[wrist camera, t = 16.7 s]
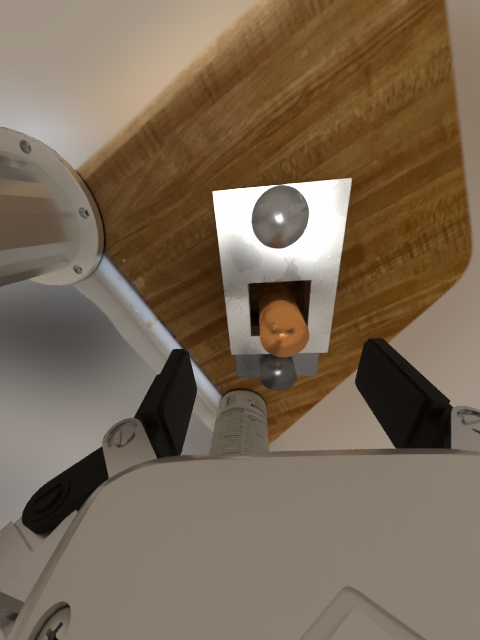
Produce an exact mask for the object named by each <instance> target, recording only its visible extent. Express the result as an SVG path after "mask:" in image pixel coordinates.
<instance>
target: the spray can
mask: <svg viewBox="0 0 480 640" xmlns="http://www.w3.org/2000/svg"><path fill="white" fill-rule="evenodd" d="M249 452H269V447H268V430H267V413H266V406H265V402H264V400H263V399H262V398H261V397H260V396H259V395H258V394H256V393H255V392H252V391H248V390H234V391H231V392H228V393H227V394H226V395H225V396H224V397H223V398H222V399H221V401H220V403H219V407H218V412H217V417H216V422H215V427H214V432H213V438H212V443H211V448H210V453H209V454H219V453H249Z"/></svg>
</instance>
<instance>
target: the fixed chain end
mask: <svg viewBox="0 0 480 640" xmlns="http://www.w3.org/2000/svg"><path fill="white" fill-rule="evenodd" d="M249 294H250V283H249ZM304 294H305V280H300V288H299V306H298V308H299V310H300V312H301V315H302V317H303V308H304ZM250 311H251V295H250ZM251 326H260V323H259V319H252V313H251ZM318 357H319V353H298V354H296V355H293V356H290V357H277V356H274V355H271V354H241V355H235V360H236V370H237V377H260V379H261V382H262V384H263V385H264V386H265V387H266V388H268V389H271V390H275V391H281V390H286V389H288V388H290V387H291V386H292V385H293V384H294V383H295V381H296V378H297V376H316V374H317V366H318Z"/></svg>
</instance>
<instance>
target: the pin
mask: <svg viewBox="0 0 480 640" xmlns="http://www.w3.org/2000/svg"><path fill="white" fill-rule="evenodd" d="M258 301H259V323H260V341H261V344H262V346H263V348H264V349H265V350H266V351H267V352H268V353H270V354H271V355H274V356H277V357H290V356H293V355H296V354H298V353H299V352H301V351H302V350H303V349H304V348H305V347H306V345H307V343H308V341H309V330H308V327H307V325H306V323H305V321H304V319H303V317H302V315H301V312H300V310H299V308H298V306H297V304H296V302H295V300H294V297H293V295H292V293H291V291H290V289H289V287H288V286H287V285H286V284H284V283H282V282H269V283H267V284H265V285H264V286H263V287H262V288H261V290H260V292H259V296H258Z"/></svg>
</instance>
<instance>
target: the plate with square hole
mask: <svg viewBox="0 0 480 640" xmlns="http://www.w3.org/2000/svg"><path fill="white" fill-rule="evenodd" d="M351 181H352V178H348V179H337V180H327V181H316V182H306V183H296V184H285V185H275V186H264V187H254V188H244V189H233V190H223V191H213V199H214V208H215V217H216V225H217V234H218V243H219V251H220V260H221V269H222V277H223V286H224V295H225V303H226V312H227V321H228V330H229V338H230V347H231V355H241V354H270V353H268V352H267V351H266V350H265V349H264V348H263V346H262V344H261V341H260V326H251V311H250V294H249V283H264V282H282V281H300V280H305V294H304V308H303V319H304V321H305V323H306V325H307V327H308V330H309V341H308V343H307V345H306V347H305V348H304V349H303V350H302V351H301V352H299V353H325V352H328V346H329V339H330V332H331V325H332V317H333V310H334V303H335V296H336V289H337V282H338V274H339V267H340V260H341V253H342V246H343V239H344V231H345V224H346V217H347V210H348V203H349V196H350V188H351Z"/></svg>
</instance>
